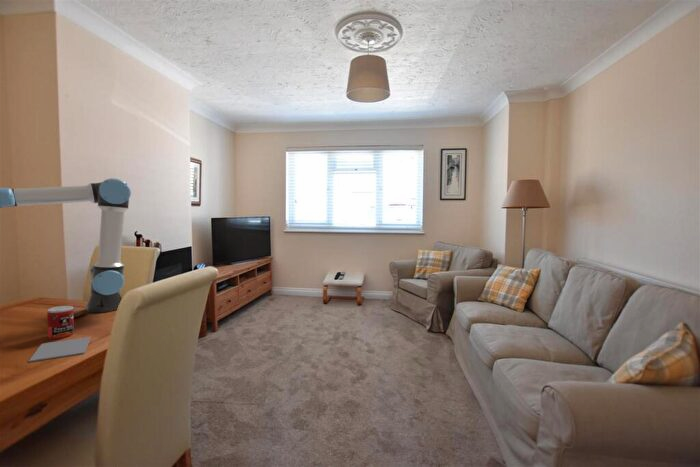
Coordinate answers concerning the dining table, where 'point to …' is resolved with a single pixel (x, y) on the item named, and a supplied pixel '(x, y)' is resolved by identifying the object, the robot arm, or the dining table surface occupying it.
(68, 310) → the canned food
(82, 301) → the dining table surface
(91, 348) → the dining table surface
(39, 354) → the rubber mat
